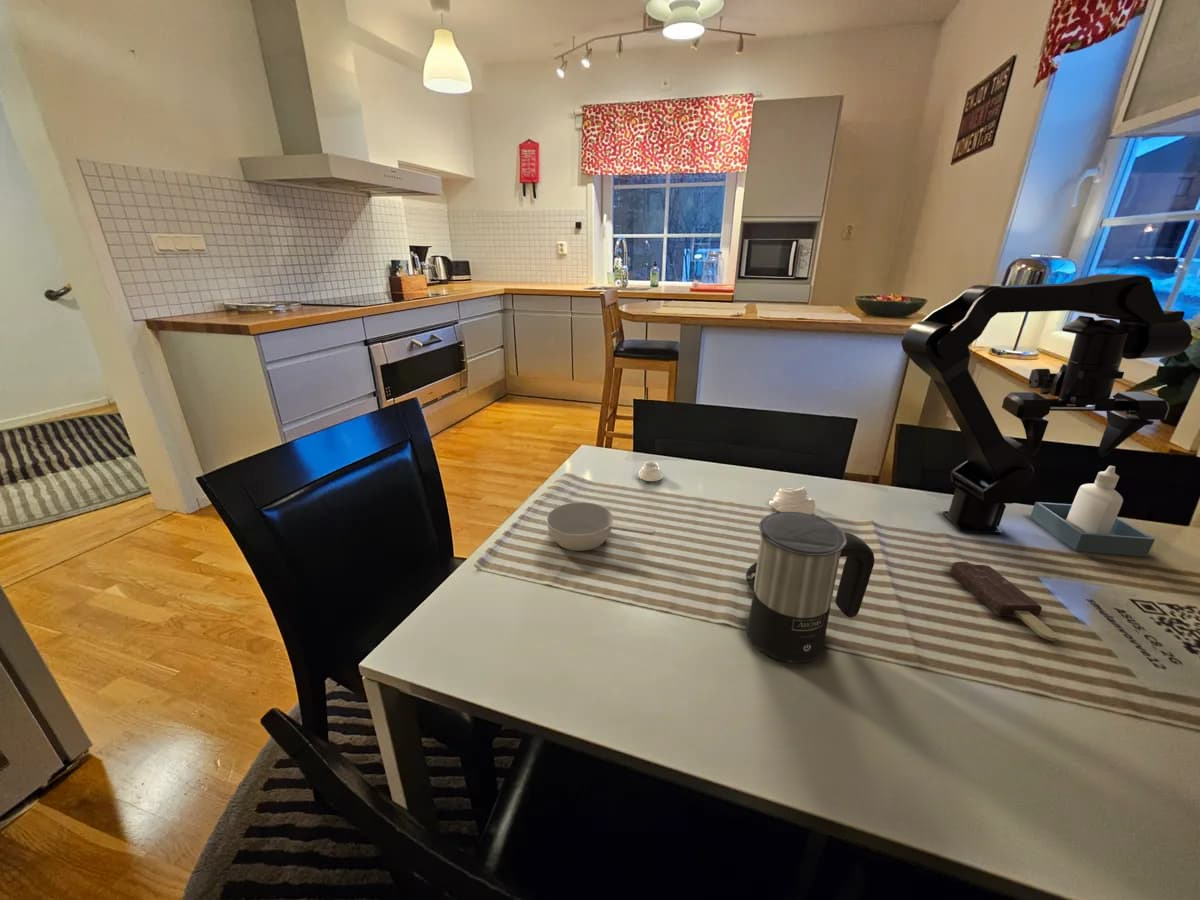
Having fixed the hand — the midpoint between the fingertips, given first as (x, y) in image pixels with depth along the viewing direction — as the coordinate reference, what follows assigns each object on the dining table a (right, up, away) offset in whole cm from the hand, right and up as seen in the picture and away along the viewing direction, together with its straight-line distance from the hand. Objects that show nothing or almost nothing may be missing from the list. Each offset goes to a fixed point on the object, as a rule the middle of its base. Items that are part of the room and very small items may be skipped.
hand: (1066, 455), depth 81 cm
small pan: (-77, -14, -1) cm, 78 cm away
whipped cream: (-42, -10, +10) cm, 44 cm away
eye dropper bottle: (+4, -13, +1) cm, 14 cm away
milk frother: (-54, -21, -17) cm, 60 cm away
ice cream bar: (-23, -20, -15) cm, 34 cm away
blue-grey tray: (+5, -13, +2) cm, 14 cm away
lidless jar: (-66, -5, +22) cm, 70 cm away
